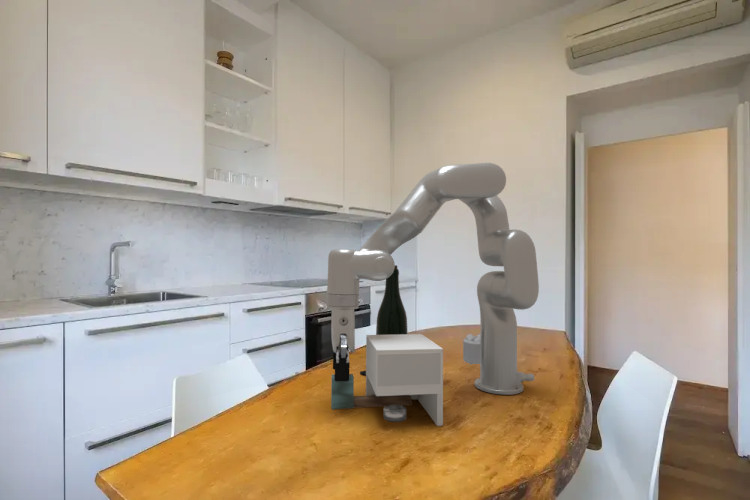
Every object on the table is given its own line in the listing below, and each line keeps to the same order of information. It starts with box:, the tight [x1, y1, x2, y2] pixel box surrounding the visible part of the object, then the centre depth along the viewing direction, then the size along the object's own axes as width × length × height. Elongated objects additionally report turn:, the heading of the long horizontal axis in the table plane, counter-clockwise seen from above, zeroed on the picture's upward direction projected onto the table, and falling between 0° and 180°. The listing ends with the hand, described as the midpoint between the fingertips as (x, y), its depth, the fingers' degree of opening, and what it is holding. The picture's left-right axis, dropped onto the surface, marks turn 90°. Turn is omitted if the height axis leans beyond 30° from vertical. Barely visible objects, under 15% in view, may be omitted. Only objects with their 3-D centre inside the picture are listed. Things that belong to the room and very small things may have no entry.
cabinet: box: [365, 333, 444, 427], centre depth 88 cm, size 14×17×16 cm
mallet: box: [330, 373, 412, 410], centre depth 92 cm, size 19×3×7 cm, turn 98°
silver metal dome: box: [383, 405, 407, 423], centre depth 85 cm, size 5×5×2 cm
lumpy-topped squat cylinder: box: [462, 333, 480, 365], centre depth 135 cm, size 10×13×9 cm
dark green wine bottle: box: [375, 264, 408, 335], centre depth 126 cm, size 10×10×33 cm
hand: (340, 374), depth 91 cm, fingers open, 9 cm apart
